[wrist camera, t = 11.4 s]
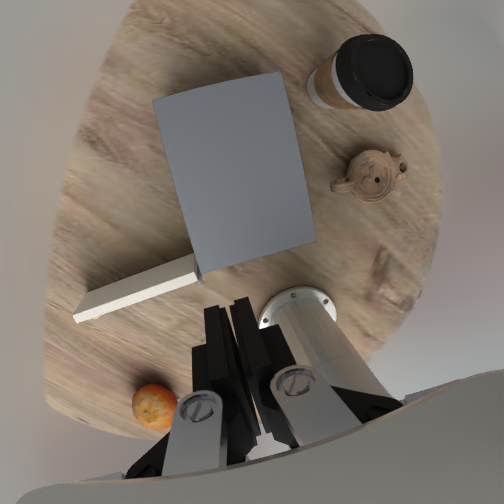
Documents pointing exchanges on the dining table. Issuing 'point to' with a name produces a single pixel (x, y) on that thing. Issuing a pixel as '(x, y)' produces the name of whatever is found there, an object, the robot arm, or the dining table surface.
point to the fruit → (154, 406)
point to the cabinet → (236, 169)
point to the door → (139, 287)
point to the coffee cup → (363, 75)
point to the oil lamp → (372, 176)
